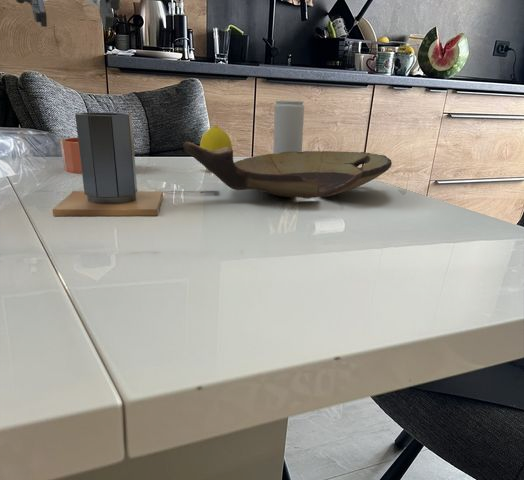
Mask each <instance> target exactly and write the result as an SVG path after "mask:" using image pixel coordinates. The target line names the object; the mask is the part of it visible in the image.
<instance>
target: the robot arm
mask: <svg viewBox="0 0 524 480" xmlns="http://www.w3.org/2000/svg"><path fill="white" fill-rule="evenodd" d="M15 1H16V3H18V4H25V3H27V4H29V5H30V7H31V10H32V15H33V19H34V20H35V22H36V23H40V27H41V28H42V27H43V28H46V27H47V28H48V21H47V18H48V17H47V11H46V6H45V3H44V2H48V1H49V0H15ZM83 1H84V3H86V4H87V5H89V6H92V5H93V6H94V7H95V8H96V9H98V10H99V11H98V14H99V16H100V20H101V24H102V27H103V31H108V32H109V31H110V30H111V28H113V26H114V21H115V20H114V19H115V15H114V12H113V11H119V10H120V7H121V0H83Z"/></svg>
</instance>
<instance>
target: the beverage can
mask: <svg viewBox="0 0 524 480" xmlns="http://www.w3.org/2000/svg"><path fill="white" fill-rule="evenodd" d="M273 115H274V116H273V150H272V151H273V152H272V154H273V153H274V154H279V153H282V152H296V151H297V152H303V135H304V120H305V119H304V117H305V106H304V100H275V104H274V114H273Z"/></svg>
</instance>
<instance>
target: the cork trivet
mask: <svg viewBox="0 0 524 480" xmlns="http://www.w3.org/2000/svg"><path fill="white" fill-rule="evenodd" d="M163 197H164V192H163V190H149V191H148V190H137V193H136V200H135V201H132V202H128V203H120V204H98V203H92V202H89V201H88V200H87V195H85V194H84V190H73V191H72V192H70V194H68V195H67V196H66V197H65V198H63V200H61V201H60V202H59V203H58V204H57V205H55V206H54V207H53V208H52V215H53V217H157V216H158V214H159V211H160V208H161V206H162V205H161V204H162V201H163V199H164V198H163Z"/></svg>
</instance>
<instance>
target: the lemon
mask: <svg viewBox="0 0 524 480" xmlns="http://www.w3.org/2000/svg"><path fill="white" fill-rule="evenodd" d="M232 145H233V144H232V140H231V138H230V136H229V135H228V133H227V132H226V131H225V130H223V129H221V128H220V127H219V126H218V125H213V126H212V127H211V128H209V129H207V130H206V131H205V132H204V133H203V135H202V136H201V139H200V141H199V147H201V148H204V149H207V150H211V151H214V150H218V149H221V148H224V147H230V148H232V149H233V146H232ZM204 168H205V169H207V168H206V167H205V166H204ZM207 170H208V171H210V170H209V169H207Z"/></svg>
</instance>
